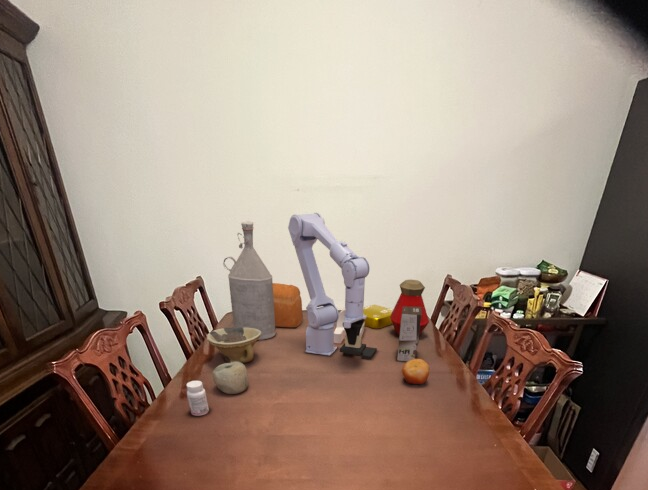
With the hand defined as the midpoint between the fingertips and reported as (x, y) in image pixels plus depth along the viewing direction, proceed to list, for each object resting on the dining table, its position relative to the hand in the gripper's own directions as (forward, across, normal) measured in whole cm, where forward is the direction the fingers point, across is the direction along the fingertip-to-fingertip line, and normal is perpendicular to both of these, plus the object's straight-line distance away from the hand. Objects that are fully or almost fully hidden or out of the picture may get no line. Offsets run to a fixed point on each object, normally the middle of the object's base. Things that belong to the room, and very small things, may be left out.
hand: (353, 342), depth 135 cm
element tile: (+8, +45, +4) cm, 46 cm away
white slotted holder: (+8, +25, +9) cm, 28 cm away
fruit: (+8, -6, -22) cm, 24 cm away
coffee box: (+8, +12, -16) cm, 22 cm away
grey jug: (+8, +13, +44) cm, 47 cm away
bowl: (+8, -10, +38) cm, 40 cm away
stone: (+8, -30, +28) cm, 42 cm away
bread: (+8, +29, +45) cm, 54 cm away
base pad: (+7, +9, 0) cm, 12 cm away
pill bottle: (+8, -45, +29) cm, 54 cm away
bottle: (+8, +34, -12) cm, 37 cm away
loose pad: (+2, 0, 0) cm, 2 cm away
